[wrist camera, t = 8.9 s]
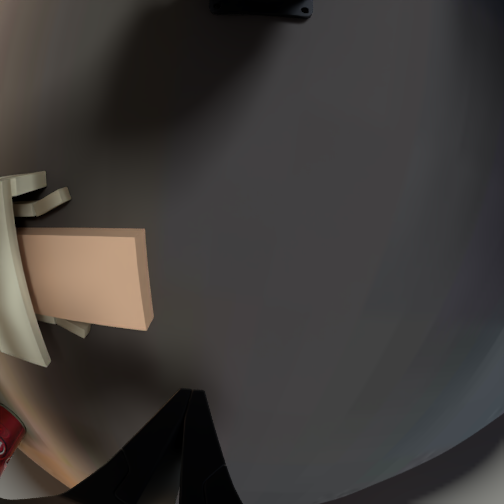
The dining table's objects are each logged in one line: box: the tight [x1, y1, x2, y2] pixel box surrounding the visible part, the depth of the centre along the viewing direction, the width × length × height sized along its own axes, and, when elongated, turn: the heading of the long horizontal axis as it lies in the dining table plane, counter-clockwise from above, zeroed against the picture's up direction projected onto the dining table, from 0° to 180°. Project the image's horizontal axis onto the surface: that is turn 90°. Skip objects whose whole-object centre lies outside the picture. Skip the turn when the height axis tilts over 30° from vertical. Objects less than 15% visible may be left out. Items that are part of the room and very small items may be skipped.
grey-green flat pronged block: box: [0, 171, 91, 367], centre depth 18 cm, size 9×15×4 cm, turn 177°
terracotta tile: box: [16, 228, 154, 331], centre depth 20 cm, size 14×7×2 cm, turn 88°
